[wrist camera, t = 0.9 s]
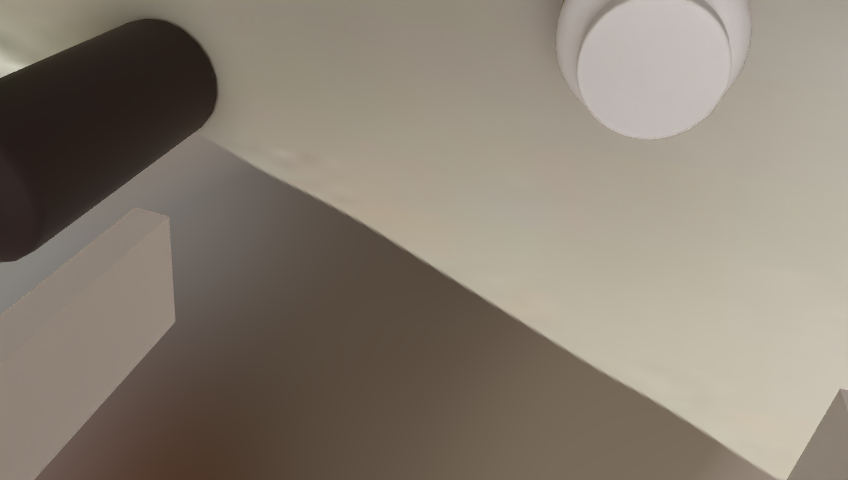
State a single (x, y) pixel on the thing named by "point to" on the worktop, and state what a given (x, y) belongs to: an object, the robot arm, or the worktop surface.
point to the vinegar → (93, 125)
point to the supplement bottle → (652, 60)
